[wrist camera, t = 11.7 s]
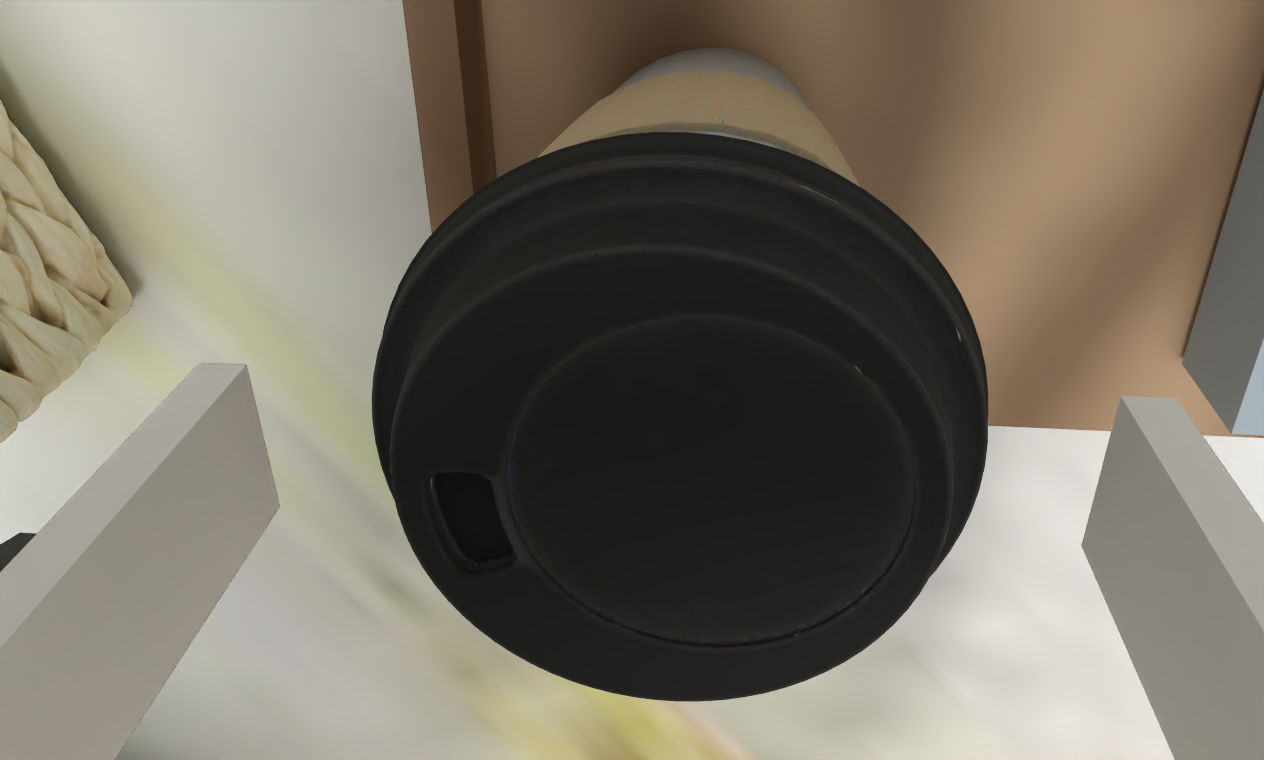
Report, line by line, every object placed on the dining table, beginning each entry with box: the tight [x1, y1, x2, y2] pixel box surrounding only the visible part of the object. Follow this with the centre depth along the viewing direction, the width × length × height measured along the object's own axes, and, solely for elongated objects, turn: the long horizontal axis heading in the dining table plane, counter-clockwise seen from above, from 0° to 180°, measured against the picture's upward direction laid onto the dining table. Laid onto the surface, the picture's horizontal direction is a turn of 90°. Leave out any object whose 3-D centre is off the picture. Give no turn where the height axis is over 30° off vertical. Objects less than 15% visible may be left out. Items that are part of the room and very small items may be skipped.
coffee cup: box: [372, 48, 988, 701], centre depth 21 cm, size 9×9×15 cm
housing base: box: [402, 0, 1264, 438], centre depth 26 cm, size 24×16×4 cm, turn 91°
